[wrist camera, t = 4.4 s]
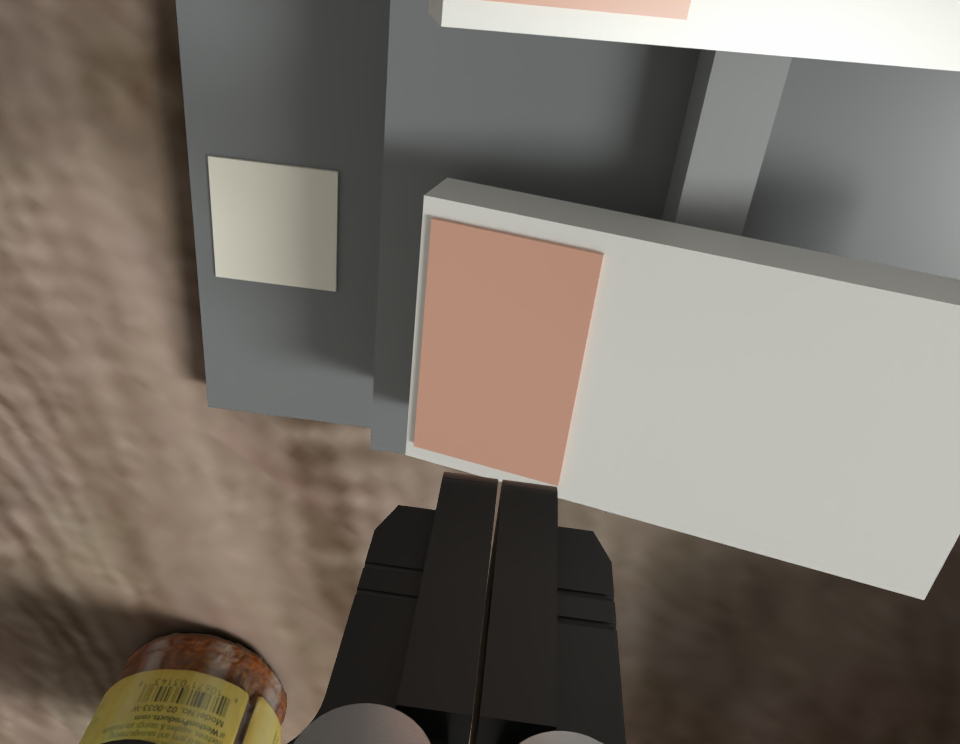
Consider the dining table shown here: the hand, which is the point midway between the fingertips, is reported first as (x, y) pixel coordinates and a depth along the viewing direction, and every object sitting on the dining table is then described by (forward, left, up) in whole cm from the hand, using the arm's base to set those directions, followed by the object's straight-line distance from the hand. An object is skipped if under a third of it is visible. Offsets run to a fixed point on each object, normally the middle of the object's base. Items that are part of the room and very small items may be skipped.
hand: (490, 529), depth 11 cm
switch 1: (-3, 0, -4) cm, 5 cm away
